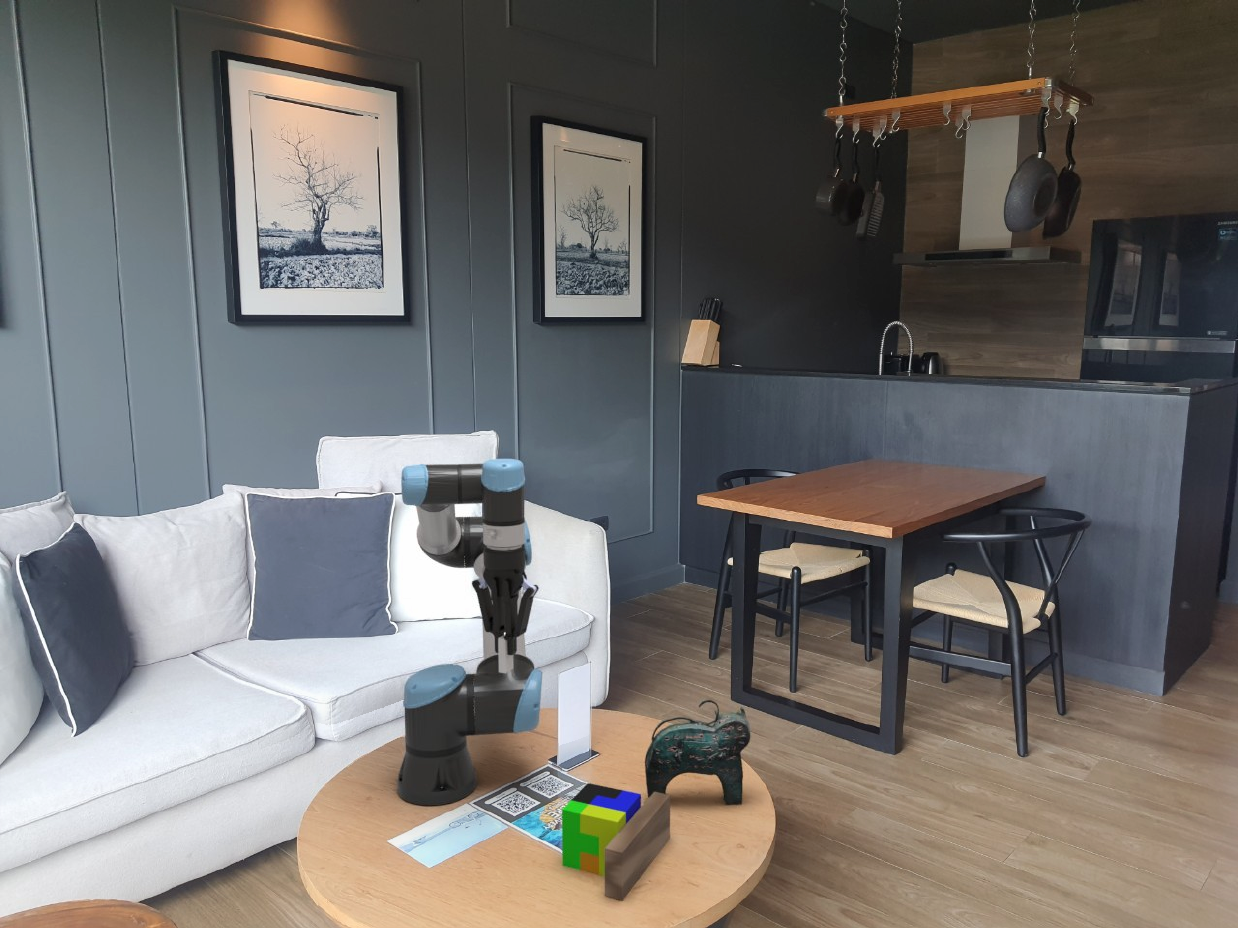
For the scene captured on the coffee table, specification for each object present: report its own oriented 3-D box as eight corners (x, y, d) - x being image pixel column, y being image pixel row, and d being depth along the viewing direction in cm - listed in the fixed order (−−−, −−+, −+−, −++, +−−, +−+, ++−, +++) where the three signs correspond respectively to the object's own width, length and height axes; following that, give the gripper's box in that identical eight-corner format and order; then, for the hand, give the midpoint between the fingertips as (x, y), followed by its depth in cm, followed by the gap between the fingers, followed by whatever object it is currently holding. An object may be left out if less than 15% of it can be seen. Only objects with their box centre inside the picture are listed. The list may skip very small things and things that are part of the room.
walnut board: (604, 895, 145) (604, 848, 143) (654, 834, 163) (654, 791, 161) (622, 900, 143) (622, 852, 142) (669, 837, 161) (670, 794, 160)
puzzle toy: (640, 848, 158) (641, 793, 157) (617, 879, 149) (617, 821, 148) (588, 836, 162) (587, 782, 161) (562, 866, 153) (562, 809, 152)
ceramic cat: (746, 793, 177) (749, 693, 175) (752, 810, 171) (755, 707, 168) (643, 794, 177) (644, 694, 174) (646, 811, 170) (646, 708, 168)
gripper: (462, 546, 165) (464, 671, 169) (525, 553, 160) (526, 683, 163) (484, 537, 172) (486, 658, 175) (546, 544, 166) (547, 668, 170)
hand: (506, 670), depth 169 cm, fingers closed
